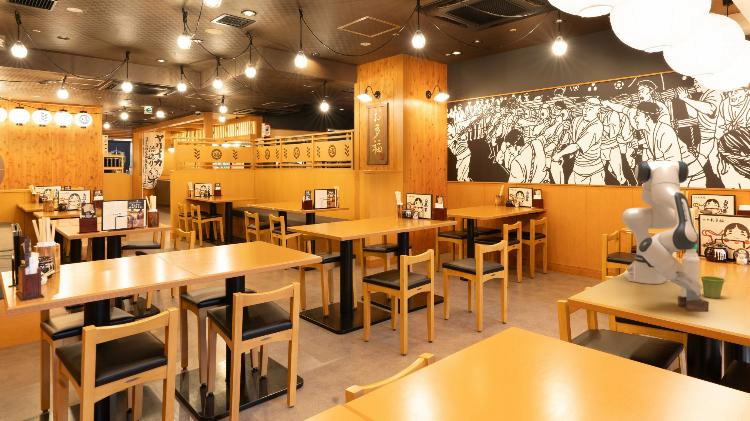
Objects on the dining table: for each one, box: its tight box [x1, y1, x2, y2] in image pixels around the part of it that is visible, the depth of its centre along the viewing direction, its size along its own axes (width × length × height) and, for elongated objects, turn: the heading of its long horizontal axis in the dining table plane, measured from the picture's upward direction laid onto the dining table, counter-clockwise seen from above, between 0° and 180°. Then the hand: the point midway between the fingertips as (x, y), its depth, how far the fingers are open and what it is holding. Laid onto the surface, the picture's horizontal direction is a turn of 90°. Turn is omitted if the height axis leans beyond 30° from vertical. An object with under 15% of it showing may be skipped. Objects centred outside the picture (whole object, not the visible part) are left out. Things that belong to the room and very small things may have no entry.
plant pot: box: [700, 275, 726, 299], centre depth 220 cm, size 9×9×9 cm
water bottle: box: [679, 244, 701, 297], centre depth 219 cm, size 7×7×25 cm
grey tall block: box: [686, 289, 701, 301], centre depth 202 cm, size 4×4×10 cm
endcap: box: [677, 296, 710, 312], centre depth 203 cm, size 8×8×4 cm
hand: (695, 292), depth 202 cm, fingers open, 4 cm apart
